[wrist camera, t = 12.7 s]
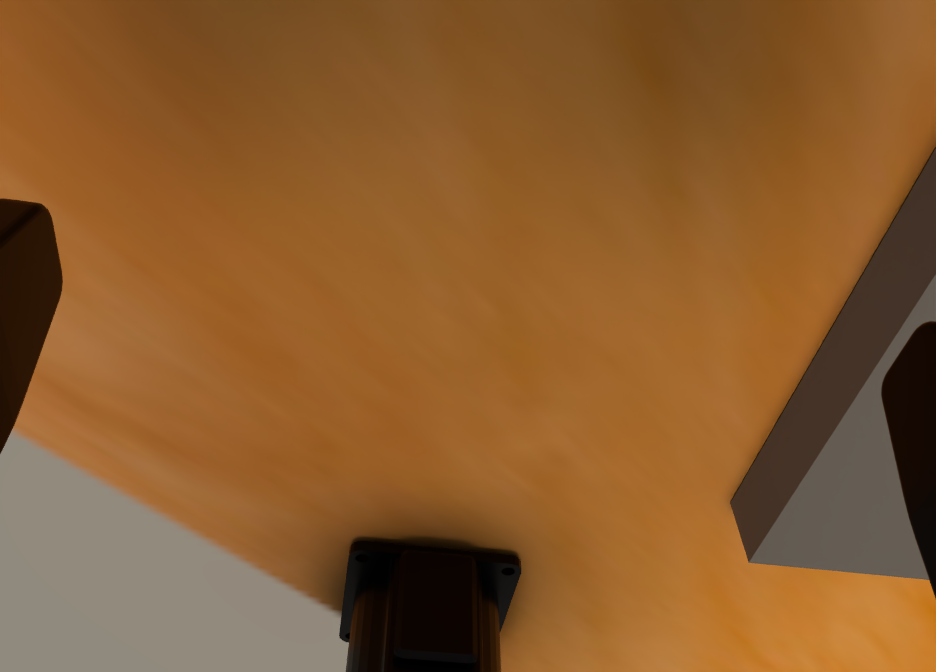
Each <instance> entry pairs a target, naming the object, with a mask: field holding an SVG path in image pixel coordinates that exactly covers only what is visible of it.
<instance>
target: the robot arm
mask: <svg viewBox="0 0 936 672" xmlns="http://www.w3.org/2000/svg"><path fill="white" fill-rule="evenodd" d="M62 283H63V279H62V270H61V264H60V259H59V253H58V248H57V243H56V237H55V232H54V226H53V221H52V217H51V215H50V213H49V211H48V209H47V208H46V207H45V206H43V205H42V204H40V203H34V202H27V201H19V200H12V199H0V453H1V451H2V449H3V448H4V446H5V443H6V441H7V439H8V437H9V435H10V433H11V431H12V429H13V426H14V424H15V422H16V419H17V417H18V414H19V411H20V409H21V406H22V404H23V401H24V398H25V395H26V393H27V390H28V387H29V384H30V381H31V378H32V376H33V373H34V370H35V367H36V364H37V362H38V359H39V356H40V353H41V350H42V347H43V345H44V342H45V339H46V336H47V333H48V331H49V328H50V325H51V322H52V319H53V316H54V314H55V311H56V308H57V305H58V302H59V299H60V296H61V291H62ZM881 397H882V403H883V407H884V412H885V416H886V421H887V425H888V430H889V434H890V439H891V443H892V448H893V452H894V456H895V461H896V465H897V470H898V474H899V479H900V483H901V488H902V492H903V497H904V501H905V505H906V509H907V513H908V517H909V520H910V523H911V527H912V530H913V533H914V536H915V539H916V542H917V545H918V548H919V551H920V554H921V557H922V560H923V563H924V566H925V569H926V572H927V575H928V577H929V580H930V583H931V586H932V589H933V592H934V595H935V598H936V321H929V322H925V323H923V324H921V325H920V326H919V327H917V328H916V329H915V331H914V332H913V333H912V335H911V336H910V338H909V339H908V341H907V342H906V344H905V345H904V347H903V348H902V350H901V351H900V353H899V354H898V356H897V358H896V359H895V361H894V362H893V364H892V365H891V367H890V368H889V370H888V371H887V373H886V375H885V376H884V379H883V382H882V388H881ZM520 574H521V561H520V559H519V558H518V557H516V556H513V555H507V554H496V553H485V552H475V551H464V550H453V549H443V548H432V547H421V546H411V545H400V544H389V543H378V542H368V541H358V542H355V543H353V544H352V545H351V547H350V551H349V559H348V567H347V576H346V584H345V592H344V601H343V609H342V617H341V625H340V635H339V636H340V638H341V639H342V640H343V641H345V642H349V648H348V657H347V666H346V672H501V658H500V631H501V628H502V625H503V622H504V620H505V617H506V614H507V611H508V608H509V606H510V603H511V600H512V597H513V594H514V591H515V589H516V586H517V583H518V580H519V577H520Z"/></svg>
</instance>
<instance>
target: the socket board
mask: <svg viewBox="0 0 936 672" xmlns="http://www.w3.org/2000/svg"><path fill="white" fill-rule="evenodd" d="M929 321H936V148H935V150H934V152H933V154H932V155H931V157H930V159H929V161H928V162H927V164H926V166H925V167H924V169H923V171H922V173H921V174H920V176H919V178H918V180H917V181H916V183H915V185H914V186H913V188H912V190H911V192H910V193H909V195H908V197H907V199H906V200H905V202H904V204H903V205H902V207H901V209H900V211H899V212H898V214H897V216H896V218H895V219H894V221H893V223H892V224H891V226H890V228H889V230H888V231H887V233H886V235H885V237H884V238H883V240H882V242H881V244H880V245H879V247H878V249H877V250H876V252H875V254H874V256H873V257H872V259H871V261H870V263H869V264H868V266H867V268H866V269H865V271H864V273H863V275H862V276H861V278H860V280H859V282H858V283H857V285H856V287H855V288H854V290H853V292H852V294H851V295H850V297H849V299H848V301H847V302H846V304H845V306H844V307H843V309H842V311H841V313H840V314H839V316H838V318H837V320H836V321H835V323H834V325H833V326H832V328H831V330H830V332H829V333H828V335H827V337H826V339H825V340H824V342H823V344H822V345H821V347H820V349H819V351H818V352H817V354H816V356H815V358H814V359H813V361H812V363H811V365H810V366H809V368H808V370H807V371H806V373H805V375H804V377H803V378H802V380H801V382H800V384H799V385H798V387H797V389H796V390H795V392H794V394H793V396H792V397H791V399H790V401H789V403H788V404H787V406H786V408H785V409H784V411H783V413H782V415H781V416H780V418H779V420H778V422H777V423H776V425H775V427H774V428H773V430H772V432H771V434H770V435H769V437H768V439H767V441H766V442H765V444H764V446H763V447H762V449H761V451H760V453H759V454H758V456H757V458H756V460H755V461H754V463H753V465H752V466H751V468H750V470H749V472H748V473H747V475H746V477H745V479H744V480H743V482H742V484H741V485H740V487H739V489H738V491H737V492H736V494H735V496H734V498H733V499H732V501H731V507H732V510H733V513H734V516H735V520H736V523H737V526H738V529H739V532H740V536H741V539H742V542H743V545H744V549H745V552H746V555H747V558H748V561H749V563H758V564H769V565H779V566H790V567H800V568H811V569H821V570H832V571H842V572H853V573H863V574H873V575H884V576H894V577H905V578H915V579H926V580H929V577H928V575H927V572H926V569H925V566H924V563H923V560H922V557H921V554H920V551H919V548H918V545H917V542H916V539H915V536H914V533H913V530H912V527H911V523H910V520H909V517H908V513H907V509H906V505H905V501H904V497H903V492H902V488H901V483H900V479H899V474H898V470H897V465H896V461H895V456H894V452H893V448H892V443H891V439H890V434H889V430H888V425H887V421H886V416H885V412H884V407H883V403H882V397H881V388H882V382H883V379H884V376H885V375H886V373H887V371H888V370H889V368H890V367H891V365H892V364H893V362H894V361H895V359H896V358H897V356H898V354H899V353H900V351H901V350H902V348H903V347H904V345H905V344H906V342H907V341H908V339H909V338H910V336H911V335H912V333H913V332H914V331H915V329H916V328H917V327H919V326H920V325H921V324H923V323H925V322H929Z"/></svg>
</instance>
